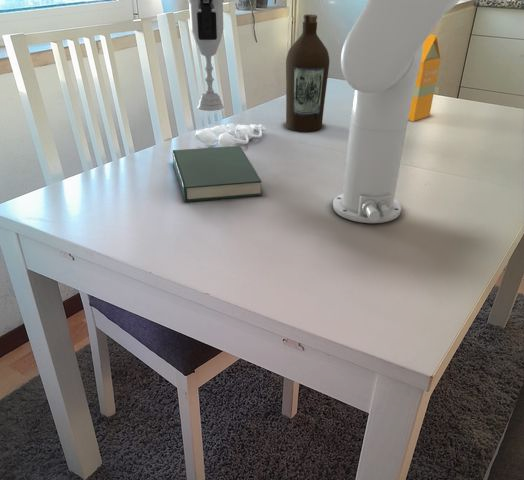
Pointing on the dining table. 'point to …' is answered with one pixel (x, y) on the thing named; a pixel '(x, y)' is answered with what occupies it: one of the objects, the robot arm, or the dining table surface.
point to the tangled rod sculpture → (228, 134)
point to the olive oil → (306, 79)
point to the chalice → (208, 53)
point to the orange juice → (425, 80)
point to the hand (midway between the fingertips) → (207, 35)
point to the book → (215, 173)
